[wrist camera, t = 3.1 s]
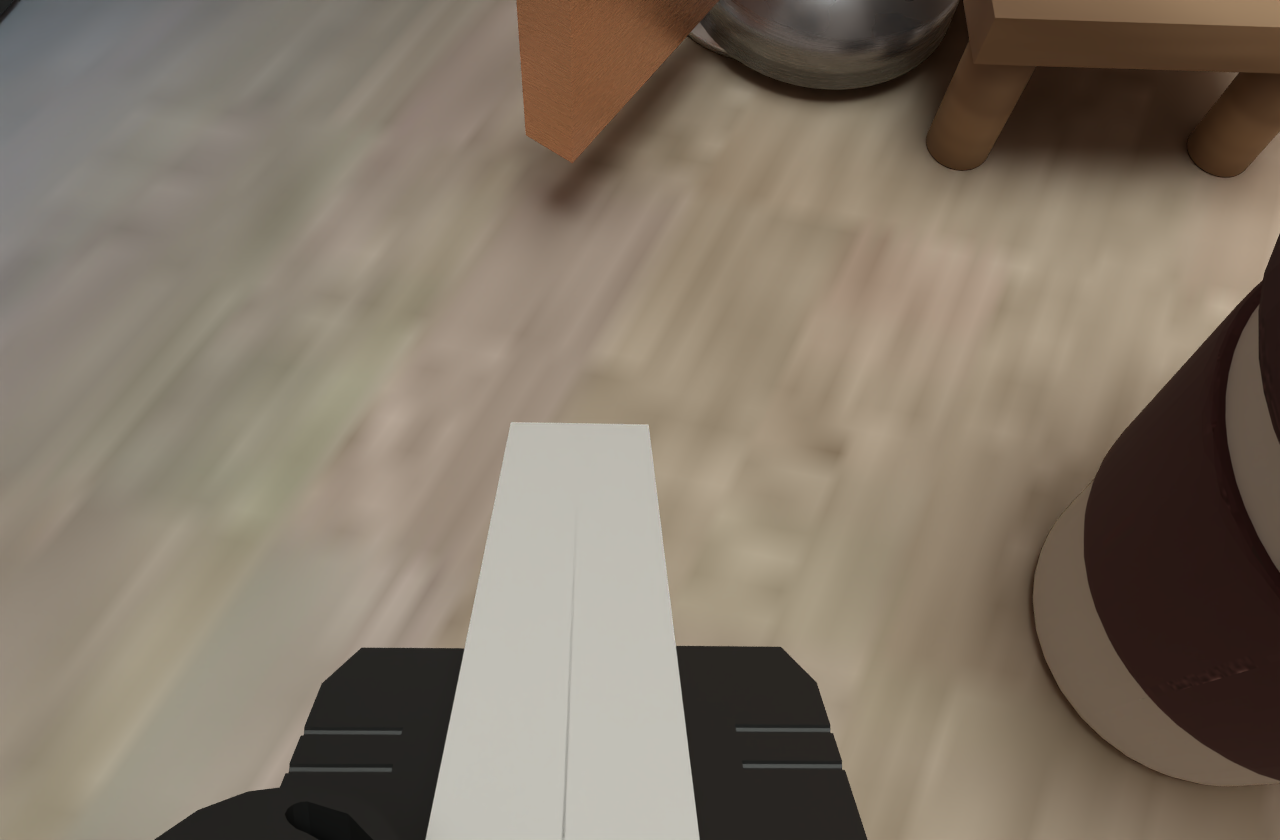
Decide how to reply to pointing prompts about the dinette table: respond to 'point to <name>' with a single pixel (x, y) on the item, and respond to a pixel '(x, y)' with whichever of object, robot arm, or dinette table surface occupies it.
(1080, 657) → the coffee cup
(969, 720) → the dinette table surface
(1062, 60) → the stand
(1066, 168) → the dinette table surface
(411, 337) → the dinette table surface
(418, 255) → the dinette table surface
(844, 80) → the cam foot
